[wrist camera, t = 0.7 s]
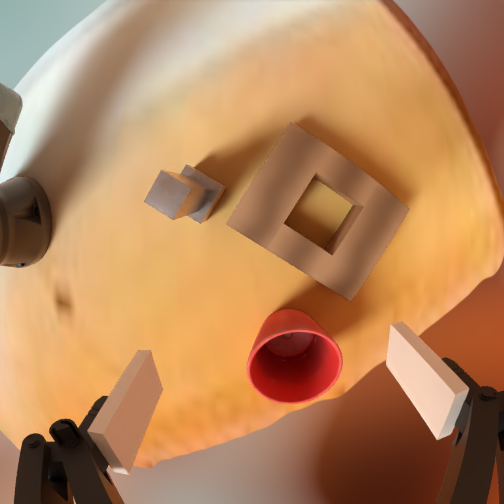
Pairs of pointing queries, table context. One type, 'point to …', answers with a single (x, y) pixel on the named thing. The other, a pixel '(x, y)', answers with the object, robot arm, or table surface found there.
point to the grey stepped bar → (185, 194)
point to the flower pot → (293, 359)
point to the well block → (287, 195)
